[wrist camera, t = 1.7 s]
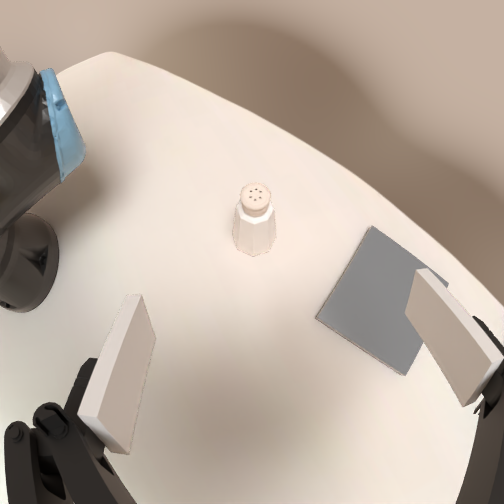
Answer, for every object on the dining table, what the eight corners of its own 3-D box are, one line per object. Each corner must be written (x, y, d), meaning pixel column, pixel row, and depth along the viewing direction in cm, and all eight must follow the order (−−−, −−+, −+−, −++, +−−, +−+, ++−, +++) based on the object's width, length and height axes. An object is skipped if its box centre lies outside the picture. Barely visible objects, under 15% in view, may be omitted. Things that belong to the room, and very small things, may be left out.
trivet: (315, 318, 34) (317, 317, 33) (368, 228, 38) (372, 225, 37) (401, 375, 32) (405, 375, 31) (444, 285, 35) (448, 283, 34)
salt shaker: (275, 258, 37) (284, 224, 26) (230, 255, 37) (222, 220, 26) (277, 217, 38) (286, 171, 28) (234, 214, 38) (228, 167, 28)
